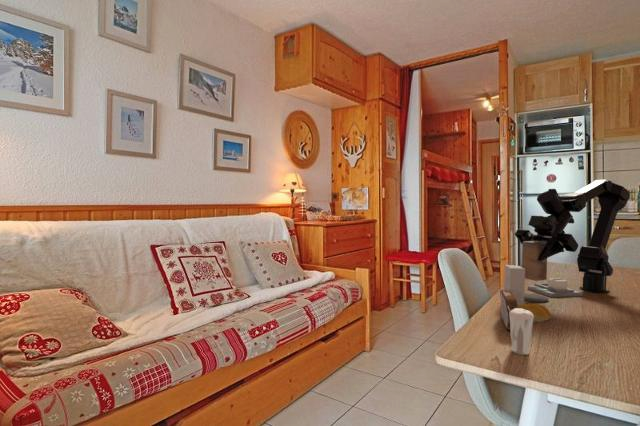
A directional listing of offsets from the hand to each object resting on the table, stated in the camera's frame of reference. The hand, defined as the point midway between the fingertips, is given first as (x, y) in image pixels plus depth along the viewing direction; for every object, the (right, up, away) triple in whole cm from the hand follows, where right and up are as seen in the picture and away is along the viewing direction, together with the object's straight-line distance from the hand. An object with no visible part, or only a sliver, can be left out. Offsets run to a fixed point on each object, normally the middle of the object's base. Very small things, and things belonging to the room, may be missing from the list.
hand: (531, 258), depth 119 cm
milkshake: (-26, -15, -41) cm, 51 cm away
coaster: (+1, -13, +1) cm, 13 cm away
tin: (-20, -14, -24) cm, 34 cm away
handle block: (+1, -7, +1) cm, 7 cm away
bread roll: (-10, -14, -18) cm, 25 cm away
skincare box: (-9, -14, -6) cm, 18 cm away
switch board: (+14, -13, +10) cm, 22 cm away
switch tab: (+14, -12, +9) cm, 20 cm away
